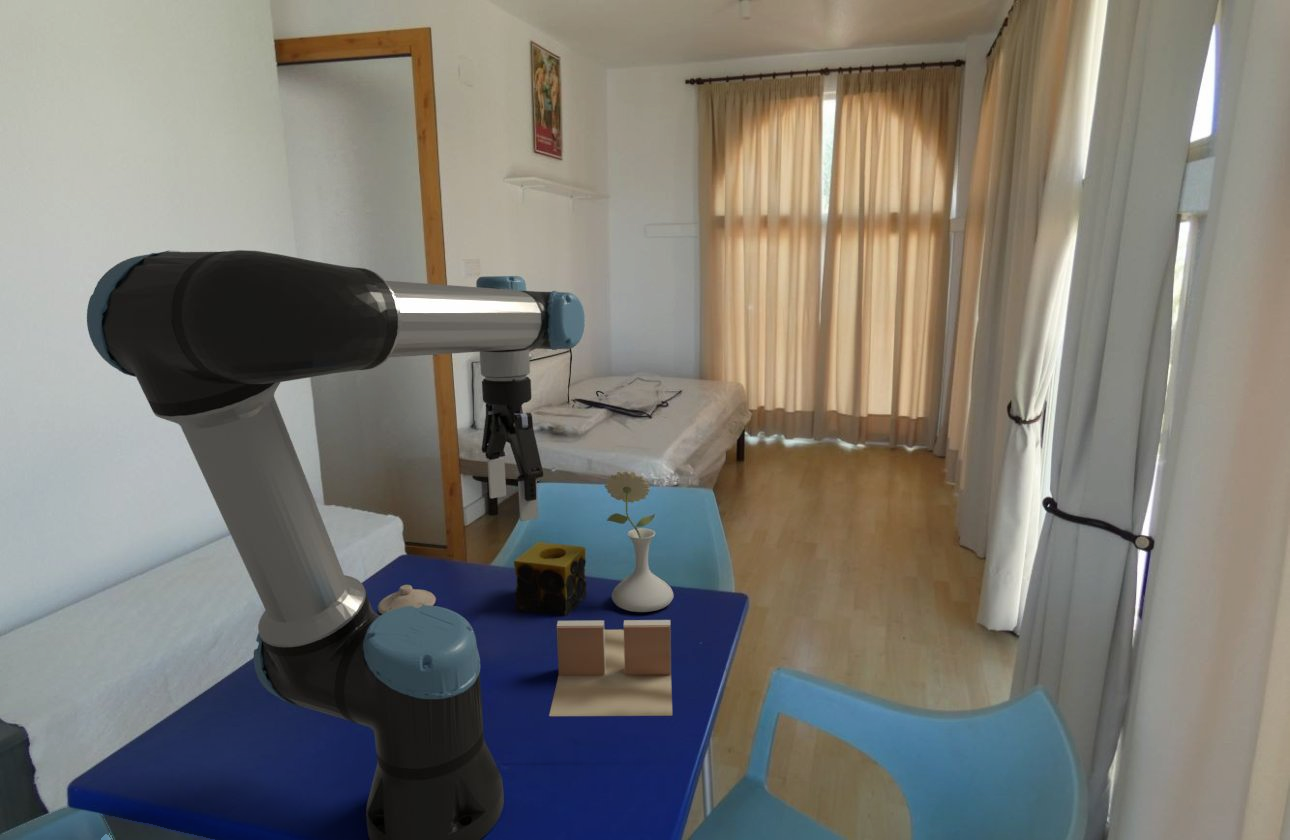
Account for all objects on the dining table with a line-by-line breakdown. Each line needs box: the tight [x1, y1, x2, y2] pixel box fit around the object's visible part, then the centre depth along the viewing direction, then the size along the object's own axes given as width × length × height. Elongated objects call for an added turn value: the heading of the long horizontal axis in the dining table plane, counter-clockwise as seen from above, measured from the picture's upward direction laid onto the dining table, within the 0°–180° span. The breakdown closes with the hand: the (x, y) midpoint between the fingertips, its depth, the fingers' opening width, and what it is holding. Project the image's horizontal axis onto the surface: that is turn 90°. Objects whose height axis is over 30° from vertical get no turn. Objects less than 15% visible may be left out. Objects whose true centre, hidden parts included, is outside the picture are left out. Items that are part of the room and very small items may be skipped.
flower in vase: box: [604, 470, 674, 613], centre depth 132 cm, size 13×11×25 cm
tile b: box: [623, 619, 672, 675], centre depth 111 cm, size 2×7×8 cm, turn 89°
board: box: [548, 629, 673, 717], centre depth 113 cm, size 24×17×1 cm
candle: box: [513, 541, 587, 617], centre depth 134 cm, size 10×10×10 cm
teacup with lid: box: [376, 584, 438, 616], centre depth 118 cm, size 12×9×12 cm
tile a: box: [556, 620, 606, 676], centre depth 111 cm, size 2×7×8 cm, turn 89°
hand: (512, 507), depth 118 cm, fingers open, 13 cm apart
